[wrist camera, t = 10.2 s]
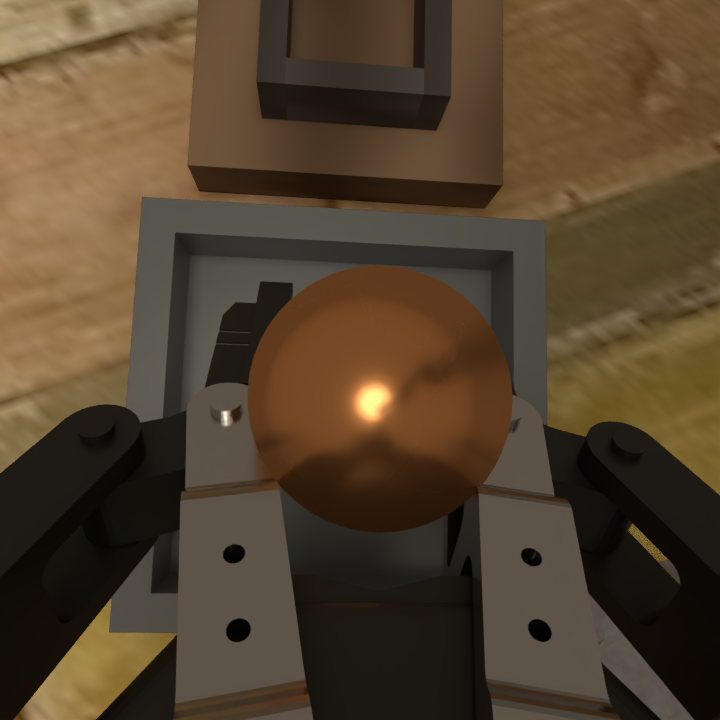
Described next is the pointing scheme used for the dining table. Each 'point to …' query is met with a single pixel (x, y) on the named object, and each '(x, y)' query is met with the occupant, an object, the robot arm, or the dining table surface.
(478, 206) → the bracket
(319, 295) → the pin
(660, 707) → the stone block
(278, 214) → the tray
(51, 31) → the dining table surface
